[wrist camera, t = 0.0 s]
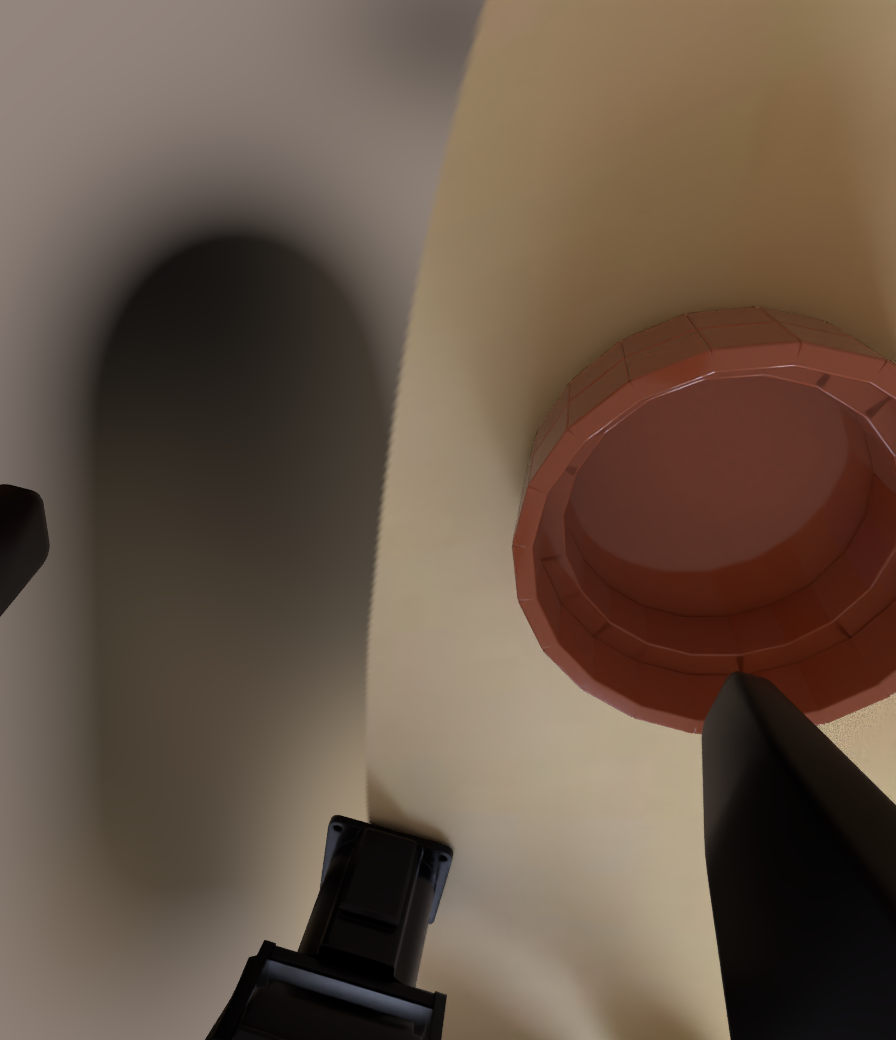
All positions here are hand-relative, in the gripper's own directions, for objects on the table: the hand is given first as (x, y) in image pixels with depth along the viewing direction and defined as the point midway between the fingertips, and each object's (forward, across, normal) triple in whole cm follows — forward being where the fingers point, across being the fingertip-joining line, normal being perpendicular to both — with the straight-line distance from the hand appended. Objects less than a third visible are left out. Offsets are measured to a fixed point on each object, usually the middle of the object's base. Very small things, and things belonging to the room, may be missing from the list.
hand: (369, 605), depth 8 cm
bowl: (+15, -8, +3) cm, 17 cm away
